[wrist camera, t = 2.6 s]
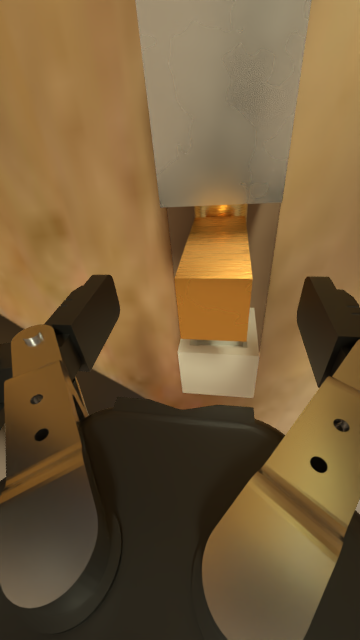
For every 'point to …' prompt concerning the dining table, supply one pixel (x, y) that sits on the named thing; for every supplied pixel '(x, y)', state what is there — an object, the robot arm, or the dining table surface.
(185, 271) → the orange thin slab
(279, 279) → the dining table surface
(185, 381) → the socket
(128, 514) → the robot arm
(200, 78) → the grey block
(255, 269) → the base board
